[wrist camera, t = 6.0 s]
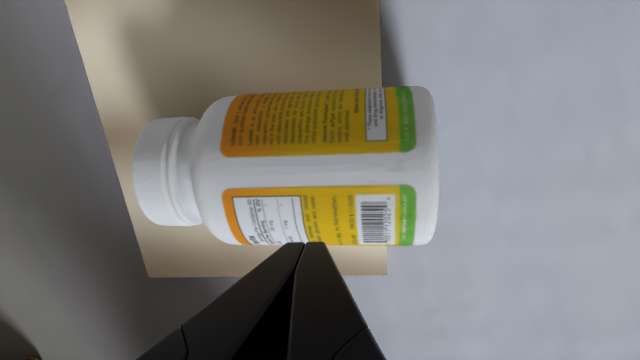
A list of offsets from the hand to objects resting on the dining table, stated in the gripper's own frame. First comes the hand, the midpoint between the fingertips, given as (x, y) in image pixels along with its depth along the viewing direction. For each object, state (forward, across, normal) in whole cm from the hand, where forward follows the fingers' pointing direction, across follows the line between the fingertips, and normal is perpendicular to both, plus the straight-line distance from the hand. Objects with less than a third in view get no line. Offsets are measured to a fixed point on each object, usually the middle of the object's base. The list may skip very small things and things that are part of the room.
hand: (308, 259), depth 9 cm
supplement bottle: (+6, -4, 0) cm, 7 cm away
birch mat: (+9, +4, 0) cm, 10 cm away
